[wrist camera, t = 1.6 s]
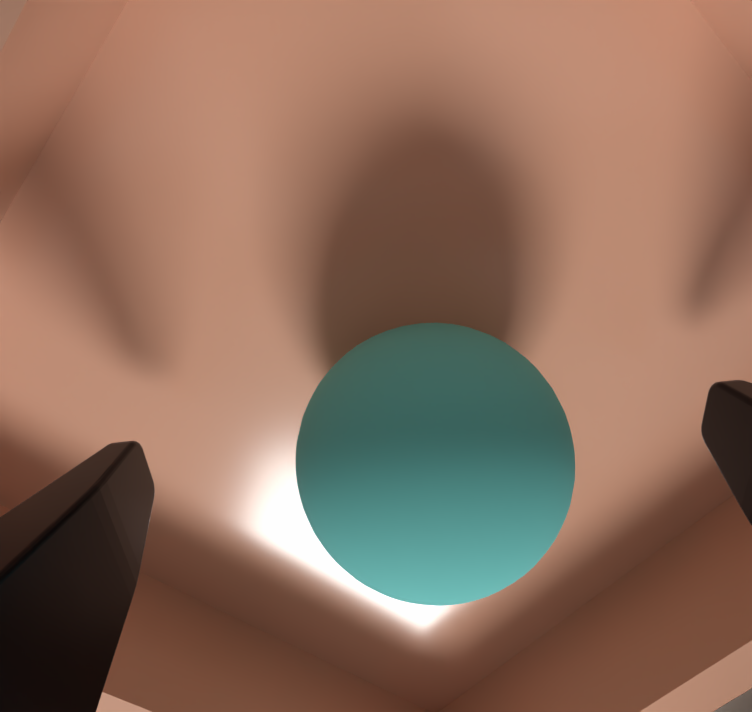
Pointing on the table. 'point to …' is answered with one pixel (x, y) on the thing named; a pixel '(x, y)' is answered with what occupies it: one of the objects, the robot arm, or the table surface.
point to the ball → (435, 464)
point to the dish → (385, 323)
